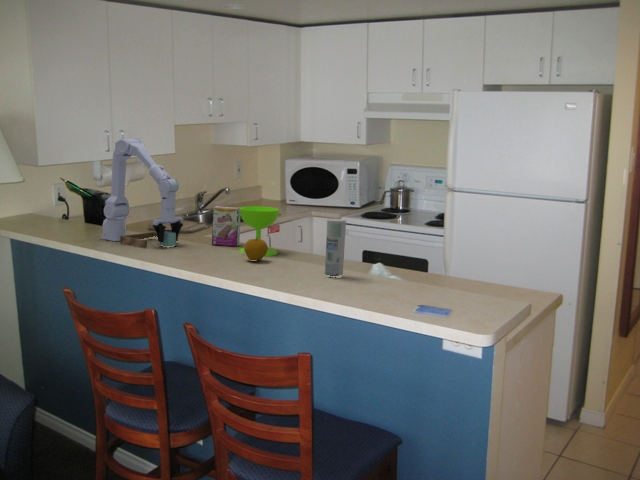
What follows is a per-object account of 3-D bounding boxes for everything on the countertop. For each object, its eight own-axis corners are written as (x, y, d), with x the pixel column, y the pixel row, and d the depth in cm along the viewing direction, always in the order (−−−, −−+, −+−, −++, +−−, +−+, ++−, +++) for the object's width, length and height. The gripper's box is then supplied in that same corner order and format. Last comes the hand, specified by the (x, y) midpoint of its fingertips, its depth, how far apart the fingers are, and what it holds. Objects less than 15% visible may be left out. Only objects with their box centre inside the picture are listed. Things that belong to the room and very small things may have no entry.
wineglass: (231, 253, 266) (232, 209, 263) (247, 247, 281) (248, 205, 278) (269, 257, 261) (270, 212, 258) (282, 251, 276) (284, 208, 273)
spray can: (346, 276, 233) (349, 220, 230) (337, 279, 228) (340, 221, 225) (330, 273, 237) (333, 218, 234) (321, 276, 231) (323, 219, 228)
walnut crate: (120, 243, 277) (120, 236, 276) (153, 238, 291) (153, 232, 291) (145, 248, 268) (145, 240, 268) (177, 243, 283) (177, 236, 283)
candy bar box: (211, 245, 282) (212, 207, 280) (214, 243, 287) (215, 205, 285) (237, 247, 281) (238, 208, 279) (239, 245, 286) (241, 207, 284)
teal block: (159, 246, 274) (160, 232, 273) (167, 245, 277) (167, 231, 276) (168, 248, 271) (168, 233, 270) (175, 247, 274) (175, 232, 273)
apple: (263, 264, 247) (264, 240, 246) (240, 262, 249) (241, 238, 248) (270, 260, 256) (270, 237, 255) (247, 258, 258) (248, 235, 256)
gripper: (161, 210, 263) (161, 244, 265) (188, 208, 275) (187, 240, 277) (149, 208, 267) (149, 241, 269) (176, 206, 279) (175, 238, 281)
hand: (167, 241), depth 274 cm, fingers open, 7 cm apart
